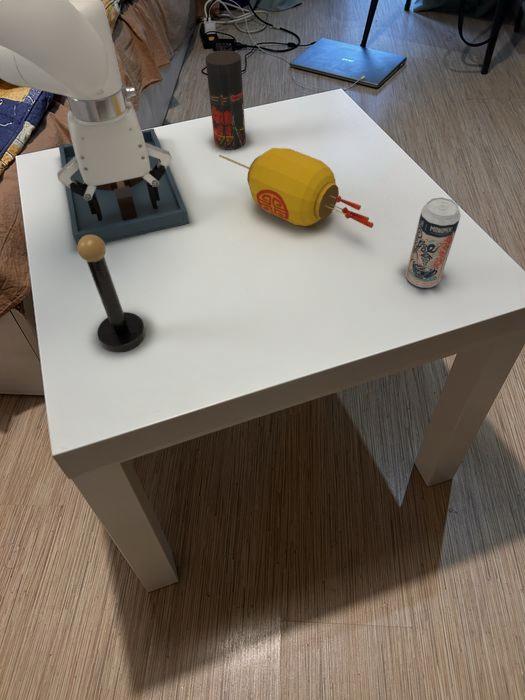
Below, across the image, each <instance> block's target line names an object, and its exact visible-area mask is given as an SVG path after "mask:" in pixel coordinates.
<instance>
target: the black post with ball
mask: <svg viewBox="0 0 525 700" xmlns="http://www.w3.org/2000/svg"><path fill="white" fill-rule="evenodd" d="M76 247H77V253H78V255H79V257H80V258H81V259H82V260H84V261H86V263H87V266H88V270H89V271H90V274H91V278H92V279H93V282H94V285H95V288H96V290H97V293H98V295H99V297H100V301H101V304H102V307H103V309H104V311H105V314H106V316H107V317H106V318H105V319H103V320H102V321H101V323H100V324H99V326H98V327H97V333H96V334H97V338H98V340H99V343H100V345H101V346H102V347H103V348H104V349H105V350H107V351H109V352H113V353H123V352H124V353H125V352H128V351H131V350H132V349H135V348H136V347H138V346H139V345H140V344H141V343H142V342H143V340H144V338H145V336H146V327H145V324H144V321H143V319H142V318H141V317H140V316H139V315H137V314H136V313H132V312H129V311H128V312H127V311H124V310H123V307H122V305H121V301H120V298H119V295H118V293H117V289H116V287H115V284H114V281H113V278H112V275H111V272H110V269H109V266H108V263H107V260H106V258H105V255H106V251H107V246H106V242H104V241H103V240H102V239H101V238H100V237H98V236H96V235H91V234H90V235H85V236H83V237H82V238H81V239H80V240H79V242H78V245H77V244H76Z"/></svg>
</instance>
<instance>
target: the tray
mask: <svg viewBox="0 0 525 700" xmlns="http://www.w3.org/2000/svg"><path fill="white" fill-rule="evenodd" d="M142 134H143V137H144V141H145V143H148V144H151V145H153V146H156V147H159V148H161V149H163V148H162V146H161V143H160V140H159V139H158V136H157V132H156V130H155V129H154V128H149V129H144V130H143V129H142ZM58 150H59V156H60V163H61V169H62V168H63V167H64V166H65V165H66V164H67V163H68V162H69V161H70V160H72V159H73V158H74V157H75V156H76V155H75V152H74V148H73V144H72V143H70V144H69V143H68V144H64V145H59V146H58ZM148 157H149V162H150V168H151V169H153V168H154V167H155V165H156V164H157V163H158V160H159V159H157V158H155V157H152V156H149V155H148ZM71 177H72V178H73V179H75V180H77V181H79V182H81V183H84V180H83V178H82V175H81V172H80V169H78V170H77V171H76V172H75V173H74V174H73V175H72V176H71ZM64 188H65V194H66V201H67V207H68V213H69V218H70V224H71V231H72V237H73V240H74V241H75V245H76V246H77V245H78V242H79V240H80V239H81V238H82V237H83V236H85V235H90V234H91V235H96V236H98V237H100V238H101V239H102V240H103V241H104V243H106V242H107V243H108V242H112V241H116V240H120V239H125V238H129V237H134V236H138V235H143V234H147V233H152V232H156V231H161V230H165V229H169V228H174V227H178V226H182V225H187V224H190V220H189V215H188V210H187V207H186V204H185V202H184V199H183V197H182V195H181V192H180V189H179V187H178V185H177V183H176V180H175V177H174V175H173V173H172V171H171V168H170V165H169V164H168V166H167V168H166V172H165V174H164V175H163V176H162V178H161V179H160V180H159V184H158V186H157V188H158V192H159V197H160V200H159V201H156V202H157V207H158V209H153V207H152V204H151V201H150V197H149V192H148V188H147V184H146V180H145V179H143V180H142V181H140V182H139V183H137V184H135V185H133V186H132V187H130V190H131V194H132V197H133V201H134V205H135V209H136V213H137V217H136V218H131V219H127V220H123V219H122V216H121V212H120V209H119V205H118V201H117V198H116V194H115V191H114V190H113V191H110V190H100V189H95V193H96V197H97V200H98V203H99V206H100V209H101V213H102V218H103V220H102V221H98V218H97V215H96V214H94V215H92V213H91V210H90V207H89V204H88V201H87V200H85V199H84V197H82V196H80V195H79V194H77V193H75V192H73V191H71V189H70V188H69V187H67V186H65V185H64Z"/></svg>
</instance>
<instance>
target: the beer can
mask: <svg viewBox="0 0 525 700" xmlns="http://www.w3.org/2000/svg"><path fill="white" fill-rule="evenodd" d="M420 210H421V211H420V215H419V219H418V223H417V227H416V232H415V236H414V239H413V243H412V248H411V252H410V255H409V260H408V264H407V268H406V271H405V276H406V277H405V278H407V281H408V282H410V283H411V284H412V285H414V286H416V287H418V288H423V289H425V288H433V287H435V286H437V285H438V284H439V283H440V282H441V280H442V277H443V274H444V270H445V267H446V264H447V261H448V258H449V254H450V252H451V248H452V246H453V243H454V239H455V237H456V232H457V229H458V227H459V223H460V220H461V218H462V217H461V216H462V215H461V211H460V208H459V204H457V203H456V202H455V201H454V200H452V199H450V198H445V197H442V196H441V197H433V198H431V199H430V200H428V201H427V202H426V203H425V205H423V206H422V208H421V209H420Z"/></svg>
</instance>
